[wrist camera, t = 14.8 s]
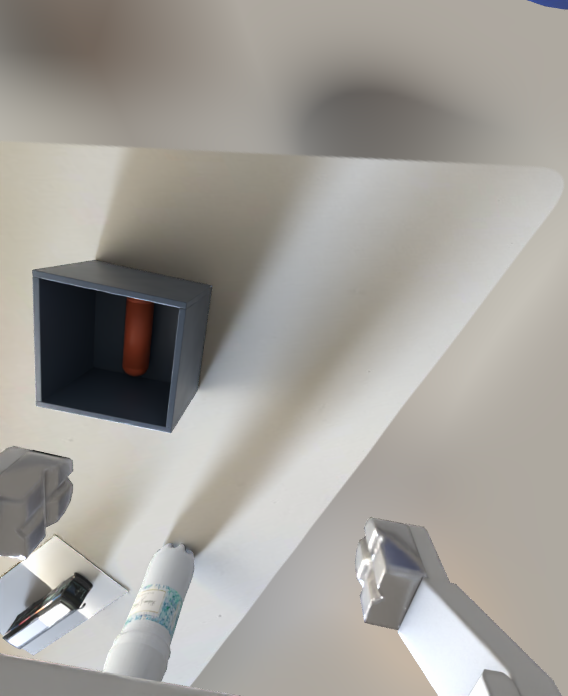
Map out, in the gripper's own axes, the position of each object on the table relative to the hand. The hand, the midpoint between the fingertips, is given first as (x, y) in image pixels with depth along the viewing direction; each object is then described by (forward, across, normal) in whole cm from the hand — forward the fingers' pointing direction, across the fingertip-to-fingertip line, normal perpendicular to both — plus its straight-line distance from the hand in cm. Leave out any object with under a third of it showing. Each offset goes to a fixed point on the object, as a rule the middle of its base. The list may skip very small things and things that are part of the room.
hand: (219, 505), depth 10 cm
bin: (+31, +14, +7) cm, 35 cm away
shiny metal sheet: (+31, +27, +56) cm, 70 cm away
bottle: (+31, +7, +41) cm, 52 cm away
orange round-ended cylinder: (+30, +14, +7) cm, 34 cm away
